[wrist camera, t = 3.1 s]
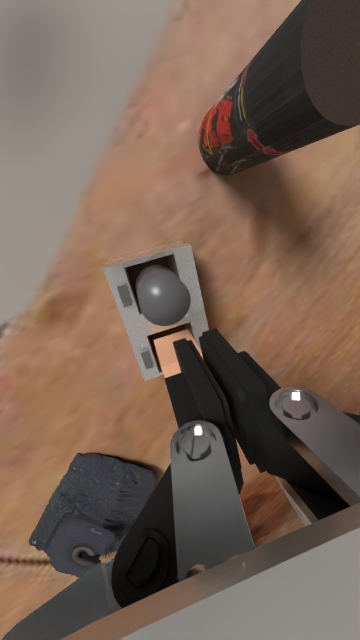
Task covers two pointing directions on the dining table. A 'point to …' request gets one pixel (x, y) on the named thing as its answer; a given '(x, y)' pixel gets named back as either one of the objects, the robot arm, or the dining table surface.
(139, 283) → the knob round
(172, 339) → the button square
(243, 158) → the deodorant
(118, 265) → the mount
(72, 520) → the dark slate chunk
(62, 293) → the dining table surface
